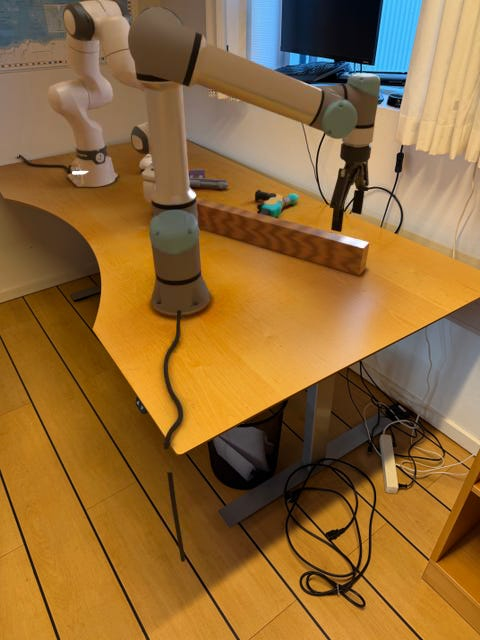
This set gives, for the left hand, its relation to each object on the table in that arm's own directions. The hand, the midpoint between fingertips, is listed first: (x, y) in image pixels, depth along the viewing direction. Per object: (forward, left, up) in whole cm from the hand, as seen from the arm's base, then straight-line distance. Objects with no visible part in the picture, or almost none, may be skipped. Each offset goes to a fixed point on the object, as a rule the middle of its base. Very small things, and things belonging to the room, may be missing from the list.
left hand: (169, 207), depth 169 cm
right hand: (+65, +14, +11) cm, 67 cm away
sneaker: (-51, +31, -4) cm, 60 cm away
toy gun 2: (+21, +28, -4) cm, 35 cm away
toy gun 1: (-15, +31, -4) cm, 34 cm away
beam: (+33, +7, -4) cm, 33 cm away
